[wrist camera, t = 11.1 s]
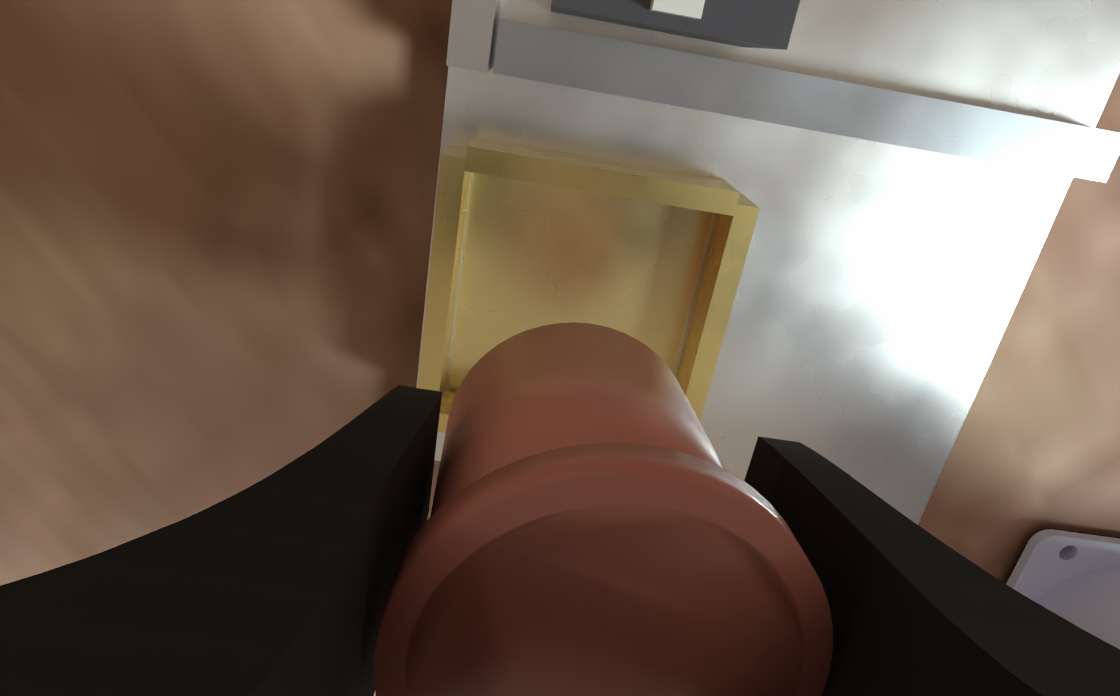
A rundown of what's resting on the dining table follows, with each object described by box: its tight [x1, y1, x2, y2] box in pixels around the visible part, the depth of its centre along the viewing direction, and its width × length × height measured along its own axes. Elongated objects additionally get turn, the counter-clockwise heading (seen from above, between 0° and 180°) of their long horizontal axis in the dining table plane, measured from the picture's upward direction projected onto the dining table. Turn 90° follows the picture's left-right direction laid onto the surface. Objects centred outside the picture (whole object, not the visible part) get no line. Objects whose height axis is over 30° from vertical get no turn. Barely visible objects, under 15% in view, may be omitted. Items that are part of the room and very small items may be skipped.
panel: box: [416, 0, 1120, 525], centre depth 16 cm, size 14×18×2 cm
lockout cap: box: [374, 322, 833, 696], centre depth 10 cm, size 5×5×5 cm
